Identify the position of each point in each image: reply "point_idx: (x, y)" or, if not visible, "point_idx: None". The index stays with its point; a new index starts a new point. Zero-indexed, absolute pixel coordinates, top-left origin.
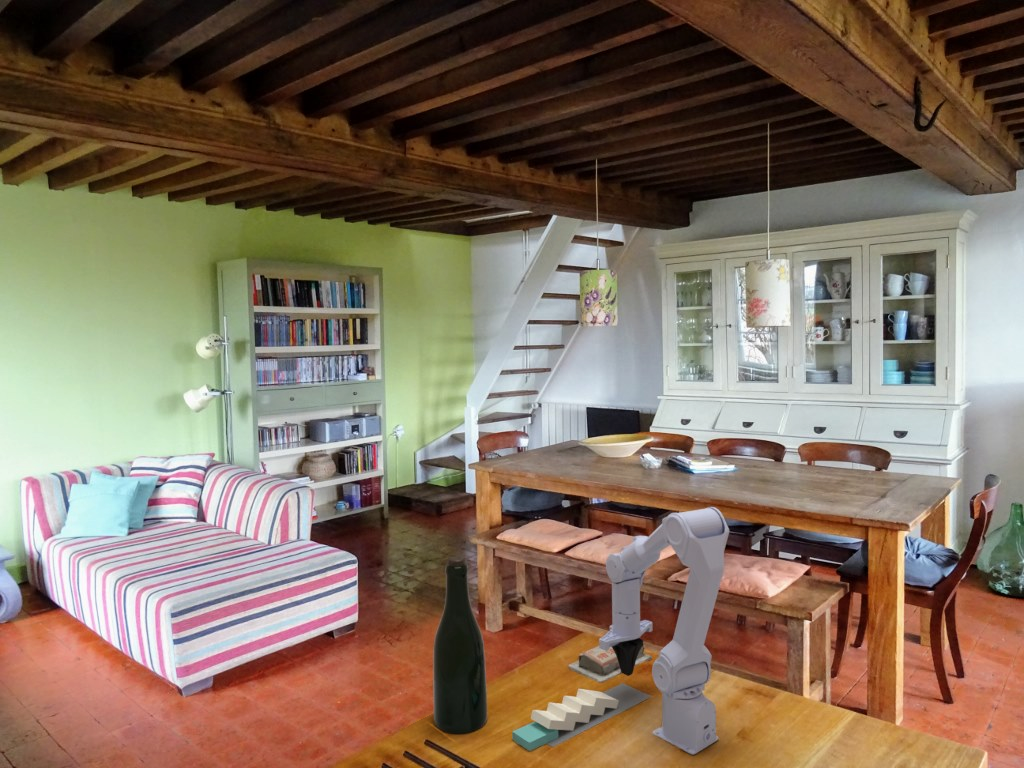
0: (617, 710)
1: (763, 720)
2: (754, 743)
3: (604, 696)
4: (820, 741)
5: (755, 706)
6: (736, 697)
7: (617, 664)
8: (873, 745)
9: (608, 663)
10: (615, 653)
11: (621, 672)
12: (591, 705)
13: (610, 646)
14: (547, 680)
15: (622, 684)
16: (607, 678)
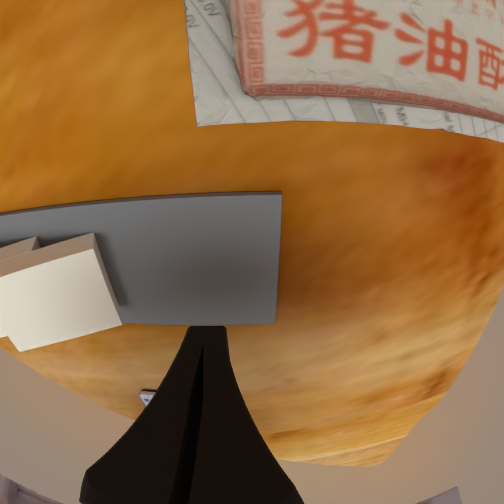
0: None
1: (345, 427)
2: (271, 443)
3: (69, 314)
4: (334, 452)
5: (384, 407)
6: (403, 385)
7: (380, 103)
8: (357, 457)
9: (313, 94)
10: (137, 420)
11: (187, 331)
12: None
13: (49, 500)
14: None
15: (269, 203)
16: (251, 121)
